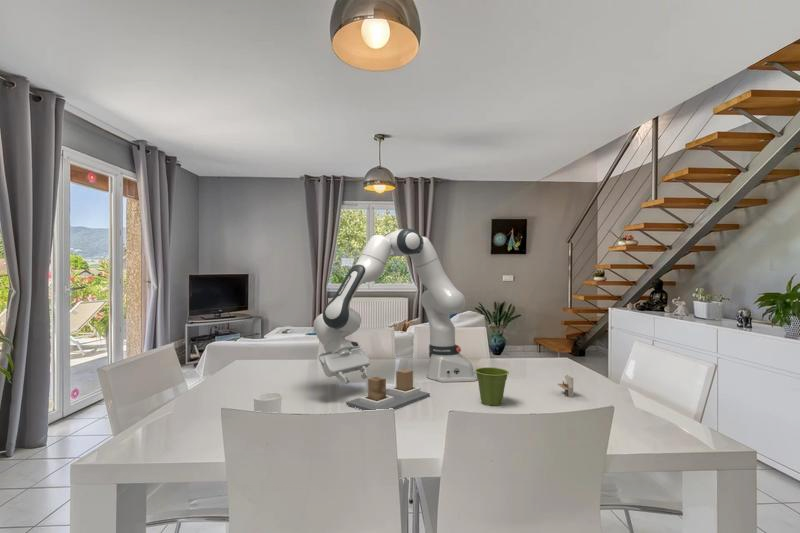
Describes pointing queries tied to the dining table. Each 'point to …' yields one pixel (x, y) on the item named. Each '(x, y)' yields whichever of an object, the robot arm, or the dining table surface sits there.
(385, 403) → the baseplate
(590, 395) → the dining table surface
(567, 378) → the architectural model
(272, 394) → the white cup
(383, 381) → the walnut block
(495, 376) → the plant pot
